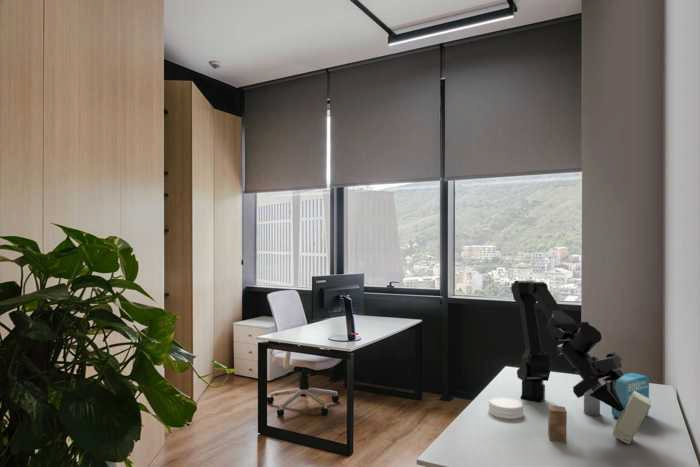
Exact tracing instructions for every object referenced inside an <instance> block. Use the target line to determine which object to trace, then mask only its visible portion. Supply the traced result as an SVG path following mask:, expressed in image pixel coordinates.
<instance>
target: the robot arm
mask: <svg viewBox="0 0 700 467" xmlns="http://www.w3.org/2000/svg"><path fill="white" fill-rule="evenodd" d="M510 287H511V288H510V289H511V290H510V291H511V293H512V297H513V300H514V301H515V303H516V304H517V305H518V306H519V310H520V318H521V325H522V333H523V340H524V348H525V350H524V353H523V355H522V356H521V364H520V366H519V368H518V369H517V370H516V377H517V378H518V379H519V380H520V381H521V395H520V399H521V400H527V401H534V402H538V403H541V402H543V400H545V397H546V385H545V384H544V381H545V382H546V381H547V382H548V381H549V379H550V374H551V370H552V369H551V364H550V356H549V354H548V353H545V352H544V350H543V349H542V345H541V338H540V331H539V325H538V318H537V312H536V311H537V310H536V303H537V304H538V307H540V309H541V311H542V312H543V314H544V316H545V317H546V320H547V330H548V332H549V335H550V336H551V338H552V339H553V341H562V342H563V341H564V342H563V343H561V344H558V345H556V355H557V356H560V355H563V356H564V358H565V359H566V360H567V361H568V362H569V364H570V365H571V367H572V368H573V369H571V371H572V373H574V374H576V373H577V374H578V375H579V376H580V378H581V379H582V380H580V381H579V382H578V383H577V384H576V385H574V386H572V388H573V389H572V392H573V393H574V396H576V397H577V399H579V398H582V397H584V393H586V392H587V391H589V390H590V389H592V392H593V393H591V394H590V396H593V397H594V398H596V399H598V400H600V402H602V403H604V404H605V405H607V406H609V407H611V409H612V408H614V409H616V410H618V411H619V412H621V411H623V410H624V408H623V406H622V404H621V401H620V399H619V397H618V395H617V392H616V390H615V384H616V382H617V380H618V379H619V378H621V377H622V376H623V375H624V374H625V373H624V372H622V370H621V369H620V368H623V365H622V361H623V359H622V357H620V356H619V355H618V354H616V352H611V353H607V354H606V355H605V356H606V358H602V359H599V358H598V357H597V356H595V355H594V356H592V355H590V354H589V352H591V351H592V350H593V349H594V348H595V347H596V346H597V345H598V344H599V343H600V342H601V341H602V334H601V332H600V331H599V330H598V329H597V328H596V327H594V326H592V325H590V323H589V322H588V321H580V322H579V324H578V323H577V322H576V321H575V320H574V318H572V317H571V316H570V315H568V314H566V313H564V311H563V310H562V308H561V307H560V305H559V304H558V302H557V300H556V299H555V298H554V296H553V295H552V293H551V292H550V290H549V288H548V285H547V283H546V282H544V281H534V280H515V281H514V282H513V283H512V284H511V286H510Z"/></svg>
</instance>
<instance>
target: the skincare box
mask: <svg viewBox="0 0 700 467" xmlns="http://www.w3.org/2000/svg"><path fill="white" fill-rule="evenodd" d="M651 407H652V399H651V398H650V397H649V398H647V397H645V396H643V395H642V394H640V393H638V392H636V391H633V393H632V395H631V396H630V398H629V400H628V402H627V404H626V405H625V407H624V410H623V411H622V413H621V415H620V416H619V418H618V419H617V420H616V422H615V424H614V426H613V428H612V433H611V434H612V436H614V437H615V438H616V439H618V440H619V441H621V442H623V443H625V444H627V445H630V444H631V443H632V440H633V439H634V437H635V436H636V433H637V431H638V430H639V428H640V426H641V424H642V423H643V421H644V419H645V418H646V414H647V412H648V410H650V409H651ZM648 413H649V412H648ZM647 415H648V414H647Z"/></svg>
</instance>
